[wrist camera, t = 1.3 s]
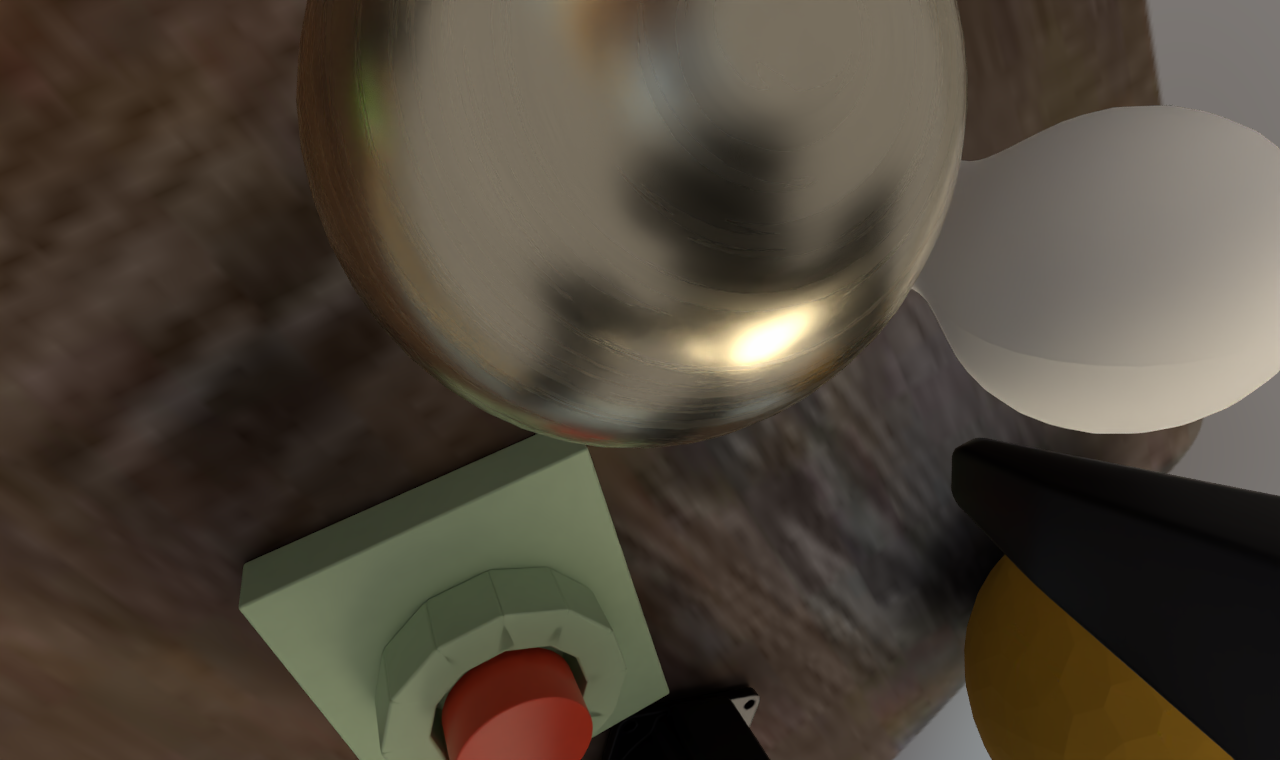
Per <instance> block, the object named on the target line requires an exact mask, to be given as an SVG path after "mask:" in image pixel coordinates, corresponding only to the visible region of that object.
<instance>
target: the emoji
mask: <svg viewBox="0 0 1280 760" xmlns="http://www.w3.org/2000/svg"><path fill="white" fill-rule="evenodd" d="M964 653H965V680H966V688H967V692H968V696H969V701H970V705H971V710H972V714H973V718H974V721H975V723H976V725H977V728H978V731H979V733H980V736H981V738H982V741H983V744H984V746H985V748H986V750H987V752H988V753H989V755H990V757H991V759H992V760H1234V759H1233V758H1232V757H1231V756H1230V755H1229V754H1227V753H1226V752H1225V751H1224V750H1223V749H1222V748H1221V747H1219V746H1218V745H1217V744H1216V743H1215V742H1214V741H1213V740H1211V739H1210V738H1209V737H1208V736H1207V735H1206V734H1205V733H1203V732H1202V731H1201V730H1200V729H1199V728H1198V727H1197V726H1195V725H1194V724H1193V723H1192V722H1191V721H1190V720H1189V719H1187V718H1186V717H1185V716H1184V715H1183V714H1182V713H1180V712H1179V711H1178V710H1177V709H1176V708H1175V707H1174V706H1172V705H1171V704H1170V703H1169V702H1168V701H1167V700H1166V699H1164V698H1163V697H1162V696H1161V695H1160V694H1159V693H1158V692H1156V691H1155V690H1154V689H1153V688H1152V687H1151V686H1150V685H1148V684H1147V683H1146V682H1145V681H1144V680H1143V679H1142V678H1140V677H1139V676H1138V675H1137V674H1136V673H1135V672H1134V671H1132V670H1131V669H1130V668H1129V667H1128V666H1127V665H1126V664H1124V663H1123V662H1122V661H1121V660H1120V659H1119V658H1118V657H1116V656H1115V655H1114V654H1113V653H1112V652H1111V651H1110V650H1108V649H1107V648H1106V647H1105V646H1104V645H1103V644H1102V643H1100V642H1099V641H1098V640H1097V639H1096V638H1095V637H1094V636H1092V635H1091V634H1090V633H1089V632H1088V631H1087V630H1086V629H1084V628H1083V627H1082V626H1081V625H1080V624H1079V623H1078V622H1076V621H1075V620H1074V619H1073V618H1072V617H1071V616H1070V615H1068V614H1067V613H1066V612H1065V611H1064V610H1063V609H1062V608H1060V607H1059V606H1058V605H1057V604H1056V603H1055V602H1054V601H1052V600H1051V599H1050V598H1049V597H1048V596H1047V595H1046V594H1044V593H1043V592H1042V591H1041V590H1040V589H1039V588H1038V587H1037V586H1036V585H1035V584H1034V583H1033V582H1032V581H1031V580H1030V579H1029V578H1028V577H1027V576H1025V575H1024V574H1023V573H1022V572H1021V571H1020V569H1019V568H1018V567H1017V566H1016V565H1015V564H1014V563H1013V562H1012V561H1011V560H1010V559H1009V558H1008V557H1007V556H1006V555H1004V556H1003V557H1002V558H1001V559H1000V560H999V562H998V563H997V564H996V565H995V566H994V568H993V569H992V570H991V571H990V573H989V575H988V576H987V578H986V580H985V582H984V583H983V585H982V587H981V589H980V590H979V592H978V594H977V597H976V601H975V604H974V607H973V610H972V613H971V616H970V619H969V622H968V625H967V631H966V640H965V649H964Z"/></svg>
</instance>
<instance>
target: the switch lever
mask: <svg viewBox="0 0 1280 760" xmlns="http://www.w3.org/2000/svg"><path fill="white" fill-rule="evenodd" d="M296 102H297V113H298V123H299V134H300V144H301V152H302V156H303V160H304V164H305V169H306V173H307V177H308V181H309V186H310V190H311V194H312V198H313V201H314V204H315V206H316V209H317V211H318V214H319V217H320V219H321V222H322V224H323V227H324V230H325V232H326V235H327V238H328V240H329V243H330V245H331V247H332V249H333V251H334V253H335V255H336V256H337V258H338V260H339V262H340V264H341V266H342V268H343V269H344V271H345V273H346V275H347V277H348V279H349V280H350V282H351V284H352V286H353V288H354V290H355V291H356V293H357V294H358V295H359V297H360V298H361V300H362V301H363V302H364V304H365V305H366V306H367V308H368V309H369V311H370V312H371V313H372V315H373V316H374V318H375V319H376V320H377V322H378V323H379V325H380V326H381V327H382V328H383V329H384V330H385V331H386V332H387V334H388V335H389V336H390V337H391V338H392V339H393V340H394V341H395V342H396V343H397V344H398V345H399V346H400V347H401V348H402V350H403V351H404V352H405V353H406V354H407V355H408V356H409V357H410V358H411V359H412V360H413V361H414V362H416V363H417V364H418V365H419V366H421V367H422V368H423V369H424V370H425V371H427V372H428V373H429V374H430V375H431V376H433V377H434V378H435V379H436V380H438V381H439V382H440V383H441V384H442V385H444V386H445V387H446V388H448V389H449V390H451V391H453V392H454V393H456V394H457V395H459V396H461V397H462V398H464V399H465V400H467V401H469V402H470V403H472V404H473V405H475V406H477V407H478V408H480V409H481V410H483V411H485V412H487V413H489V414H491V415H493V416H496V417H498V418H500V419H502V420H504V421H507V422H509V423H511V424H513V425H515V426H518V427H520V428H522V429H525V430H528V431H531V432H535V433H538V434H541V435H545V436H548V437H551V438H554V439H558V440H561V441H566V442H572V443H578V444H585V445H591V446H597V447H613V448H656V447H665V446H674V445H683V444H691V443H695V442H699V441H703V440H707V439H711V438H715V437H719V436H723V435H727V434H729V433H732V432H734V431H737V430H739V429H742V428H744V427H747V426H749V425H752V424H754V423H757V422H759V421H762V420H764V419H767V418H769V417H771V416H774V415H776V414H778V413H780V412H781V411H783V410H785V409H787V408H788V407H790V406H792V405H794V404H796V403H797V402H799V401H801V400H803V399H804V398H806V397H808V396H809V395H810V394H812V393H813V392H814V391H816V390H817V389H818V388H820V387H821V386H822V385H824V384H825V383H826V382H828V381H829V380H830V379H832V378H833V377H834V376H836V375H837V374H838V373H839V372H840V371H841V370H843V369H844V368H845V367H846V366H847V365H848V364H849V363H850V362H851V361H852V360H853V359H854V358H855V357H857V356H858V355H859V354H860V353H861V352H862V351H863V350H864V349H865V348H866V347H867V346H868V345H869V344H870V343H871V342H872V341H873V340H874V339H875V338H876V337H877V336H878V334H879V333H880V332H881V331H882V329H883V328H884V327H885V326H886V324H887V323H888V322H889V321H890V319H891V318H892V317H893V316H894V314H895V313H896V312H897V311H898V309H899V307H900V306H901V304H902V303H903V301H904V299H905V298H906V296H907V295H908V293H909V291H910V290H911V288H912V287H913V285H914V283H915V282H916V280H917V278H918V277H919V275H920V273H921V271H922V270H923V268H924V266H925V264H926V262H927V260H928V258H929V256H930V254H931V252H932V250H933V248H934V245H935V243H936V241H937V239H938V237H939V235H940V233H941V230H942V227H943V224H944V221H945V219H946V216H947V213H948V210H949V207H950V204H951V201H952V198H953V194H954V190H955V185H956V181H957V176H958V172H959V167H960V163H961V157H962V149H963V141H964V132H965V124H966V115H967V63H966V52H965V41H964V33H963V28H962V23H961V18H960V13H959V7H958V2H957V0H307V6H306V11H305V16H304V21H303V27H302V32H301V38H300V44H299V50H298V72H297V95H296Z"/></svg>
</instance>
